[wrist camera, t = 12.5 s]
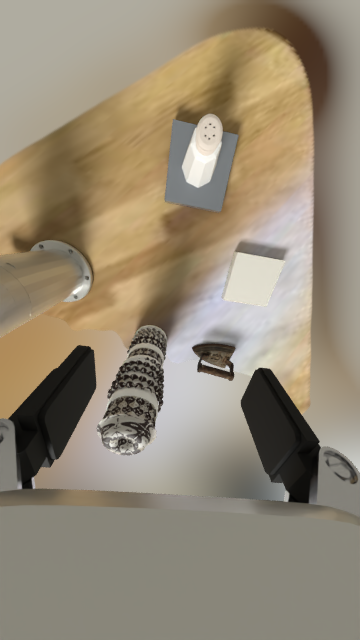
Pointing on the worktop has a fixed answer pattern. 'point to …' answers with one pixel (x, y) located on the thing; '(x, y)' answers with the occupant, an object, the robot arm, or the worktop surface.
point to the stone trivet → (251, 279)
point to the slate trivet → (176, 184)
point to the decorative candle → (136, 395)
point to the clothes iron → (215, 359)
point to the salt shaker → (203, 151)
